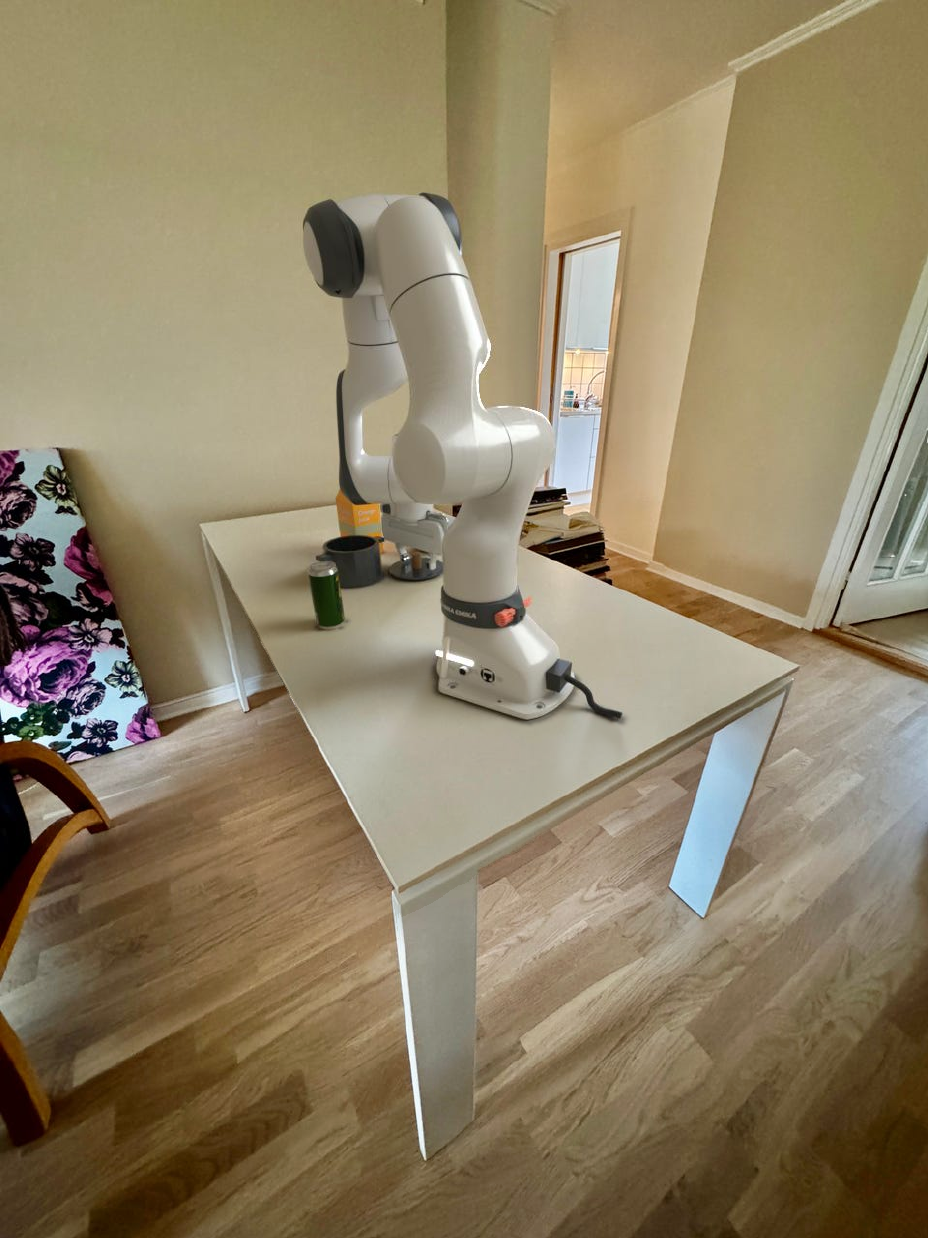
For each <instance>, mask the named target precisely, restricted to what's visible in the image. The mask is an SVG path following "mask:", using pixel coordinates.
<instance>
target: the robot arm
mask: <svg viewBox="0 0 928 1238" xmlns="http://www.w3.org/2000/svg"><path fill="white" fill-rule="evenodd" d="M302 221H303V222H302V246H303V254H304V257H305V261H306V264H307V267H308V268H309V271H310V273H311V274H312V276H313V279H314V281H315V284H316V285H317V287H318V288H319V289H320V290H322V291H323V292H324V293H325V294H326V295H328V296H329V297H333V298H338V299H341V307H342V317H343V326H344V331H345V336H346V343H347V347H348V348H347V350H348V352H347V353H348V354H347V362H346V367H345V368H344V369H343V370H341V371H340V372H339V373H338V376H337V379H336V388H335V400H336V401H335V404H336V423H337V425H336V426H337V441H338V455H339V465H338V485H339V490H341V492H342V494H343V495H344V496H345V497H346V498H347V499H348V500H349V501H350V502H352V503H353V504H354V505H367V504H379V512H380V513H381V515H380V522H381V533H382V537H384V539H385V541H386V542H389V543H394V544H395V548H396V551H397V552H398V554H399V561H400V560H401V561H404V562H406V561H409V559H410V558H411V557H410V553H408V552H407V548H412V549H415V550H418V551H420V550H422V551H421V552H425V553H428V558H430V560H429V561H428V562H426V565H427V566H426V568H427V569H430V570H433V569H435V568H436V561H437V560H439V557H441V560H442V561H441V562H442V563H443V573H442V583H443V584H442V585H441V587H440V599H439V601H440V610H441V613H442V615H443V624H442V635H441V645H440V650H436V651H435V655H436V656H438V659H437V662H436V665H435V666H436V667H435V669H436V673H437V675H438V678H439V679H438V685H437V686H438V687H437V689H438V692H439V693H441V694H444V695H447V696H450V697H453V698H456V699H459V700H462V701H466V702H469V703H472V704H475V705H478V706H481V707H484V708H487V709H490V710H493V711H497V712H500V713H503V714H505V715H509V716H512V717H514V718H515V717H516V718H518V719H522V720H526V721H527V720H533V719H536V718H540V717H542V716H544V715H547V714H548V713H550V712H552V711H554V710H555V709H556V708H558V707H559V706H560V705H562V703H563V702H564V701H565V700H566V699H567V698H568V697H569V696H570V694H571V693H572V692H573V690H574V687H575V688H577V689H579V691H581V692H582V693H583V694H584V695H585V698H586V702H587V704H588V706H589V708H591V709H592V710H593V711H594V712H596V713H598V714H600V715H603V716H607V717H613V718H616V719H619V720H621V719H622V717H623V712H622V711H619V710H615V709H611V708H606V707H604V706H601V705H599V704H597V702H595V699H594V696H593V693H592V691H591V689H590V688H588V687H589V686H587V685H586V684H585V683H583V682H582V681H580V680H578V679H577V678H575V672H573V670H572V668H573V662H572V661H569V660H565V659H562V658H561V654H560V648H559V647H558V644H557V643H556V642H555V641H554V640H553V639H552V638H551V637H550V636H549V635H548V634H547V633H546V632H545V631H544V630H543V628H541V627H540V626H539V624H537V622H535V620H533V618H532V617H530V615H529V614H528V613H527V609H526V608H528V607H529V606H531V604H532V603H533V602H532V601H531V600H532V599H533V597H532V596H528V597H527V598H525V599H523V596H522V592H521V591H520V588H519V585H518V583H517V582H518V568H519V567H518V565H519V552H520V542H521V541H520V540H521V535H522V530H523V527H524V522H525V520H526V517H527V513H528V510H529V507H530V504H531V502H532V498H533V496H534V493H535V491H536V488H537V486H538V485H539V482H540V480H541V479H542V477H543V476H544V474H545V473H546V472H547V471H548V469H549V468H550V467H551V465H552V463H553V461H554V459H555V455H556V449H557V442H556V441H557V440H556V435H555V432H554V428H553V426H552V425H551V422H550V421H549V420H548V418H547V417H546V416H544V415H543V414H542V413H541V412H538V411H536V410H532V409H530V408H526V407H522V406H516V405H503V406H502V405H501V406H492V407H484V406H483V404H482V402H481V398H480V392H479V374H480V373H481V371H482V370H483V368H484V367H485V365H486V363H487V361H488V359H489V357H490V351H491V343H490V338H489V336H488V332H487V328H486V326H485V323H484V319H483V315H482V313H481V310H480V306H479V304H478V299H477V297H476V294H475V289H474V287H473V285H472V284H473V283H472V281H471V278H470V275H469V271H468V269H467V266H466V263H465V261H464V258H463V255H462V253H463V236H462V229H461V223H460V220H459V217H458V215H457V212H456V210H455V208H454V207H453V204H452V203H451V202H450V200H449V199H448V198H446V197H445V196H441V195H438V194H434V193H429V192H420V193H419V194H410V193H409V194H408V193H382V194H381V193H379V192H374V193H373V192H372V193H365V194H359V195H354V196H349V197H345V198H342V199H338V200H333V199H331V198H328V199H325V200H323V201H320V202H318V203H315V204H312V206H310V207H309V208H308V209H307V211H306V212H305V215H304V218H303V220H302ZM407 381H408V388H409V405H408V410H407V415H406V419H405V421H404V423H403V425H402V427H401V428H400V430H399V431H398V433H396V434H394V435H393V436H392V438H391V449H390V452H391V453H390V454H387V455H386V454H384V455H383V454H382V455H381V454H379V455H375V454H373V455H372V454H368V453H366V452H365V450H364V446H363V445H364V443H363V442H364V441H363V411H364V409H365V408H366V407H367V406H369V405H371V404H373V403H374V402H376V401H379V400H381V399H383V398H386V397H388V396H389V395H392V394H393V393H395V392H396V391H398V390H399V389H400V388H402V387H403V386H404V385H405V384H406V382H407ZM457 504H461V507H460V509H459V512H458V513H457V515H456V517H455V518H456V519H455V520H454V522H453V523H452V524H451V525H450V526H449V521H448V520H447V518H446V517H445V516H444V515H445V514H443V513H439V512H436V511H435V510H434V505H457ZM443 518H444V519H443ZM406 547H407V548H406Z"/></svg>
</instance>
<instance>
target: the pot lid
mask: <svg viewBox="0 0 928 1238" xmlns="http://www.w3.org/2000/svg"><path fill="white" fill-rule="evenodd" d="M410 556H411V557H409V558H410V559H409V561H406V562H404V561H401V560H400V559H399V560H398V561H395V562H393V563H391V564H390V566H389V567H388V572H389V574H390V576H393V577H394V578H397V579H399V580H400V579H401V580H406V581H407V580H408V581H416V580H417V581H419V580H427V579H431V578H435V577H437V576H440V575H441V574H443V563H442V561H441V560H440V559H437V561H436V568H435V569H433V570H430V569H427V568H426V566H427V565H426V562H428V561H429V560H430V558H431V557H422V553H421V552H420V551H413V552H411V553H410Z"/></svg>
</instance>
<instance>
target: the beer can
mask: <svg viewBox="0 0 928 1238" xmlns="http://www.w3.org/2000/svg"><path fill="white" fill-rule="evenodd" d="M307 569H308V570H307V576H308V577H307V578H308V581H309V582H308V583H309V587H310V593H311V599H312V605H313V609H314V617H315V622H316V625H317V626H318V627H319V628H320V629H321V630H327V631H329V630H336V629H339V628H341V627H342V626H343V625H344V624H345V621H346V616H345V608H344V603H343V595H342V588H341V587H340V581H339V574H338V569H337V567H336V564H335V563H334V562H330V561H321V562H320V561H317V562H313V563H310V564H309V565H308V567H307Z"/></svg>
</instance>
